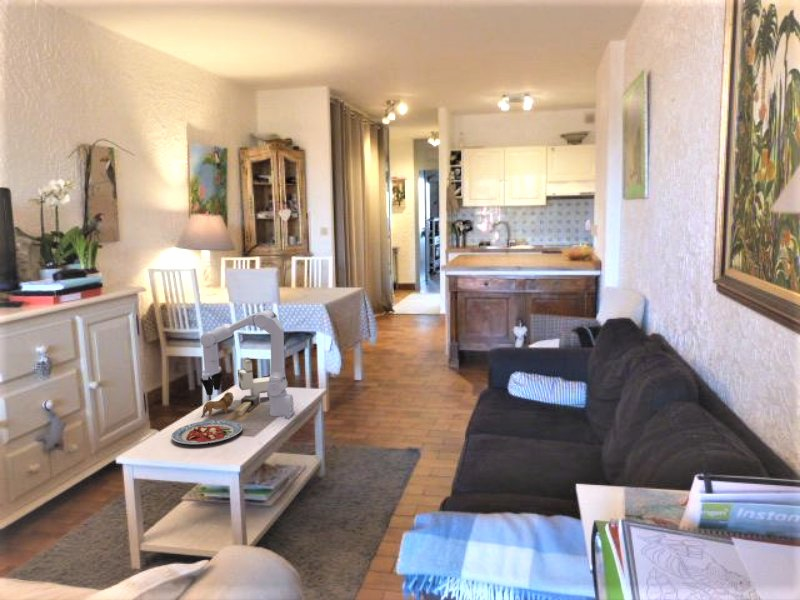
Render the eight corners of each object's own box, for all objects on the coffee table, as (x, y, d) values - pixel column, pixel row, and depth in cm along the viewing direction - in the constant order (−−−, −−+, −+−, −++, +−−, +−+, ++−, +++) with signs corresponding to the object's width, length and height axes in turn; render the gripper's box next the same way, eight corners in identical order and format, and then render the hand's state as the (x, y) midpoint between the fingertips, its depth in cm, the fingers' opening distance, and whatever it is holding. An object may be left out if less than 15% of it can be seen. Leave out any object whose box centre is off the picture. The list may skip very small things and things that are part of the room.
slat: (251, 407, 267) (251, 401, 266) (241, 416, 255) (241, 410, 254) (244, 407, 267) (244, 401, 267) (234, 416, 255) (234, 410, 255)
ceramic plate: (158, 448, 224) (157, 440, 224) (191, 424, 250) (191, 417, 249) (225, 450, 221) (225, 442, 220) (252, 425, 246) (252, 418, 246)
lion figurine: (231, 410, 266) (230, 390, 265) (236, 413, 262) (235, 392, 261) (198, 418, 257) (196, 397, 256) (203, 421, 253) (201, 399, 252)
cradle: (262, 405, 272) (262, 395, 271) (244, 422, 250) (244, 411, 249) (242, 405, 273) (242, 395, 272) (223, 422, 251) (222, 411, 250)
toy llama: (282, 400, 278) (280, 357, 275) (243, 407, 270) (240, 362, 268) (278, 396, 284) (275, 354, 282) (239, 402, 277) (236, 358, 274)
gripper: (209, 356, 264) (211, 387, 266) (194, 364, 250) (196, 397, 252) (224, 356, 263) (227, 387, 265) (211, 364, 249) (213, 397, 251)
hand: (213, 392), depth 258 cm, fingers open, 7 cm apart
